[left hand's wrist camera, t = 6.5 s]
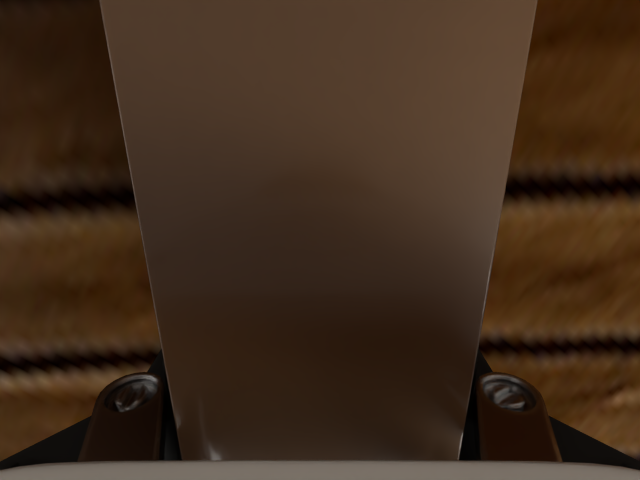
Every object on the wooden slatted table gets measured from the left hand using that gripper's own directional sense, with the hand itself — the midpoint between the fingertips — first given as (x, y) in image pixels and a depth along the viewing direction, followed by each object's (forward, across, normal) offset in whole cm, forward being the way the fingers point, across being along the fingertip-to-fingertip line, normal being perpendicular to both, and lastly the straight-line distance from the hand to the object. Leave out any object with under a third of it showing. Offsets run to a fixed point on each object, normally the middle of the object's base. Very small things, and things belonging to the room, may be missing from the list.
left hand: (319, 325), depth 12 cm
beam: (+2, 0, -22) cm, 22 cm away
